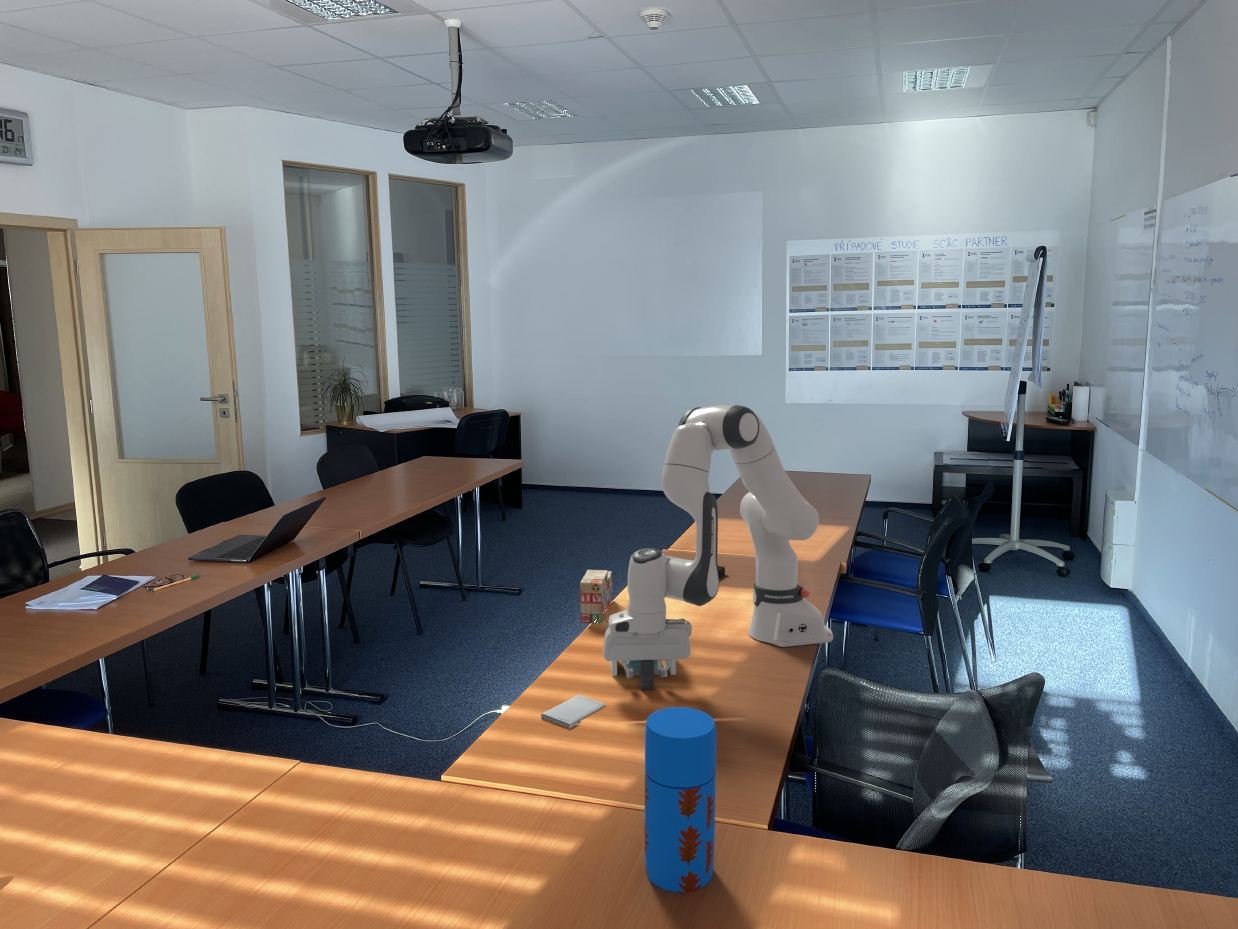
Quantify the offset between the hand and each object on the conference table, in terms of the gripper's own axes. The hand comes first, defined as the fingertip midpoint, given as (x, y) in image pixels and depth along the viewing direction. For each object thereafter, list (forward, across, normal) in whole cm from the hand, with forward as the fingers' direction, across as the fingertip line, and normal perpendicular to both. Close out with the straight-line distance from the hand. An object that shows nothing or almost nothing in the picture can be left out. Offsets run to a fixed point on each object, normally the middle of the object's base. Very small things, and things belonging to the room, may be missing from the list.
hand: (646, 676), depth 205 cm
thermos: (+3, +1, +68) cm, 68 cm away
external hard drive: (+4, -22, -84) cm, 87 cm away
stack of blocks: (+4, +10, -56) cm, 57 cm away
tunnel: (+3, 0, -13) cm, 13 cm away
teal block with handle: (+3, 0, -9) cm, 9 cm away
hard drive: (+4, +17, +11) cm, 21 cm away
